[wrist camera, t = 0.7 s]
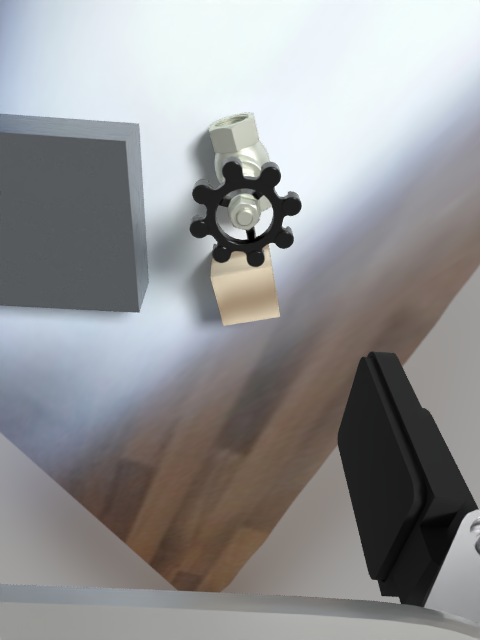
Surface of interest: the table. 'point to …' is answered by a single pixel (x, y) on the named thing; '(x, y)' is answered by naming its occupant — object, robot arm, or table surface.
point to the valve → (243, 192)
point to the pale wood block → (244, 289)
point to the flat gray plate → (71, 214)
